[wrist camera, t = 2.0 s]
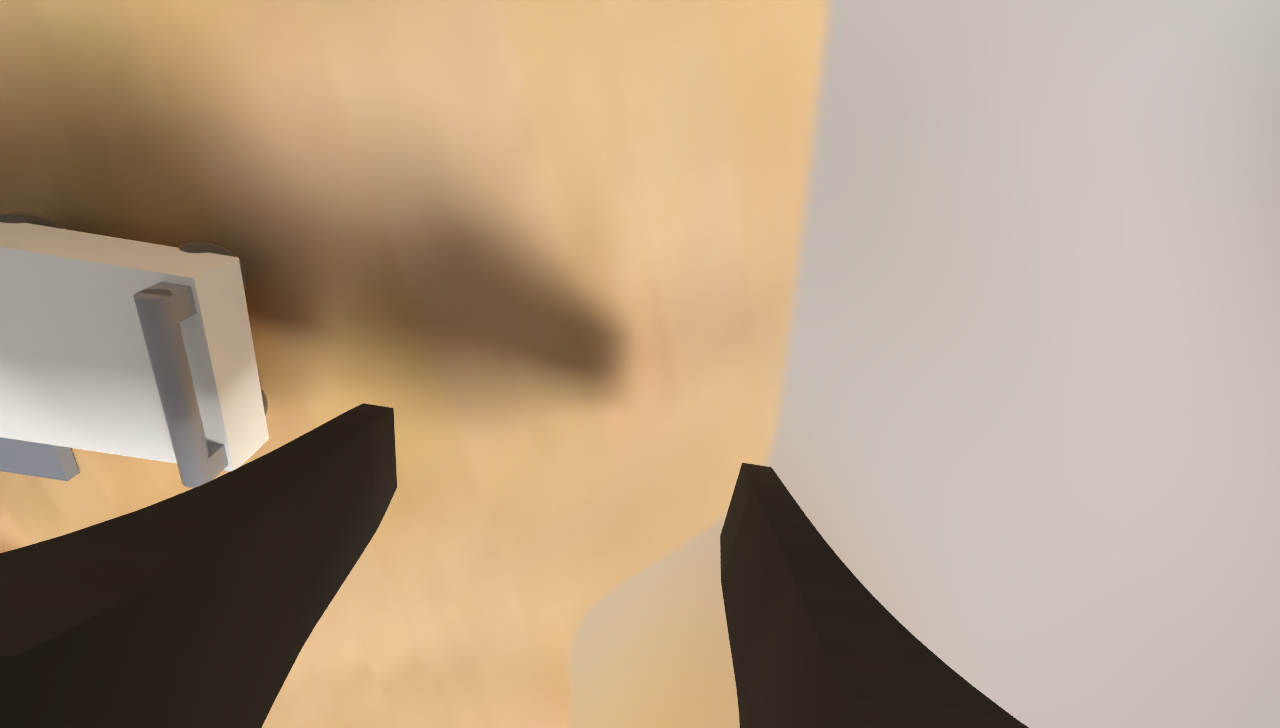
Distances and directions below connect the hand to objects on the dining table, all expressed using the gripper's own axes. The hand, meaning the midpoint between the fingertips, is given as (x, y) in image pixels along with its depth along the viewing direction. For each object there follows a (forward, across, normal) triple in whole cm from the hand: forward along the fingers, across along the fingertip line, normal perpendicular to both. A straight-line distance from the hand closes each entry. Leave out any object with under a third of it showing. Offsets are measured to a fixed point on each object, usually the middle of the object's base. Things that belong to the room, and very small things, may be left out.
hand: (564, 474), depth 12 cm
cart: (+4, +11, 0) cm, 12 cm away
